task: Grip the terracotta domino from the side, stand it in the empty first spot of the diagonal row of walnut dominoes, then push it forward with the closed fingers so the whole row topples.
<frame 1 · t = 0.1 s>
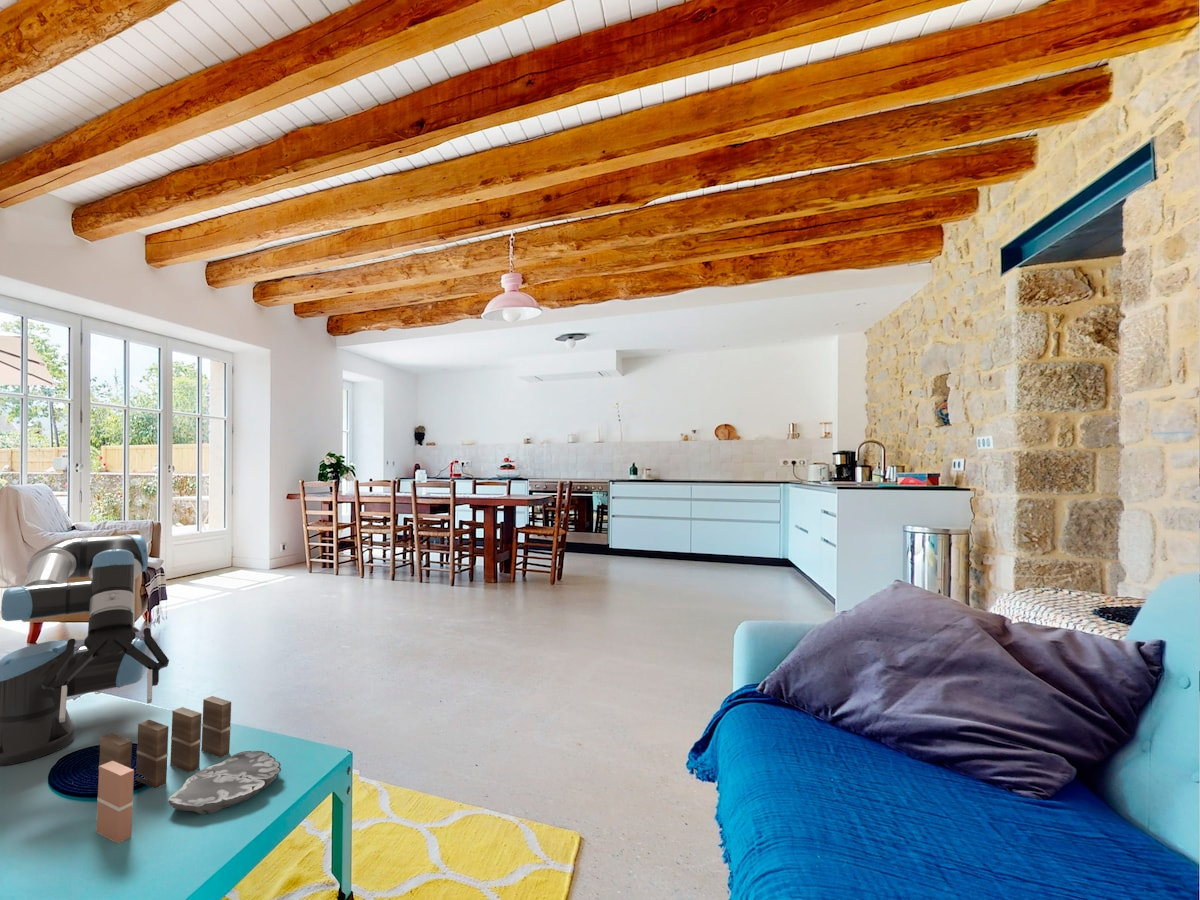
hand: (107, 710, 113), 15 cm above the table, tool tilted 35°, fingers open, 13 cm apart
domino 3: (150, 781, 114), on the table
domino 2: (113, 799, 108), on the table
domino 5: (215, 752, 126), on the table
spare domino: (113, 834, 98), on the table
domino 4: (184, 766, 120), on the table
brain slice: (232, 791, 112), on the table
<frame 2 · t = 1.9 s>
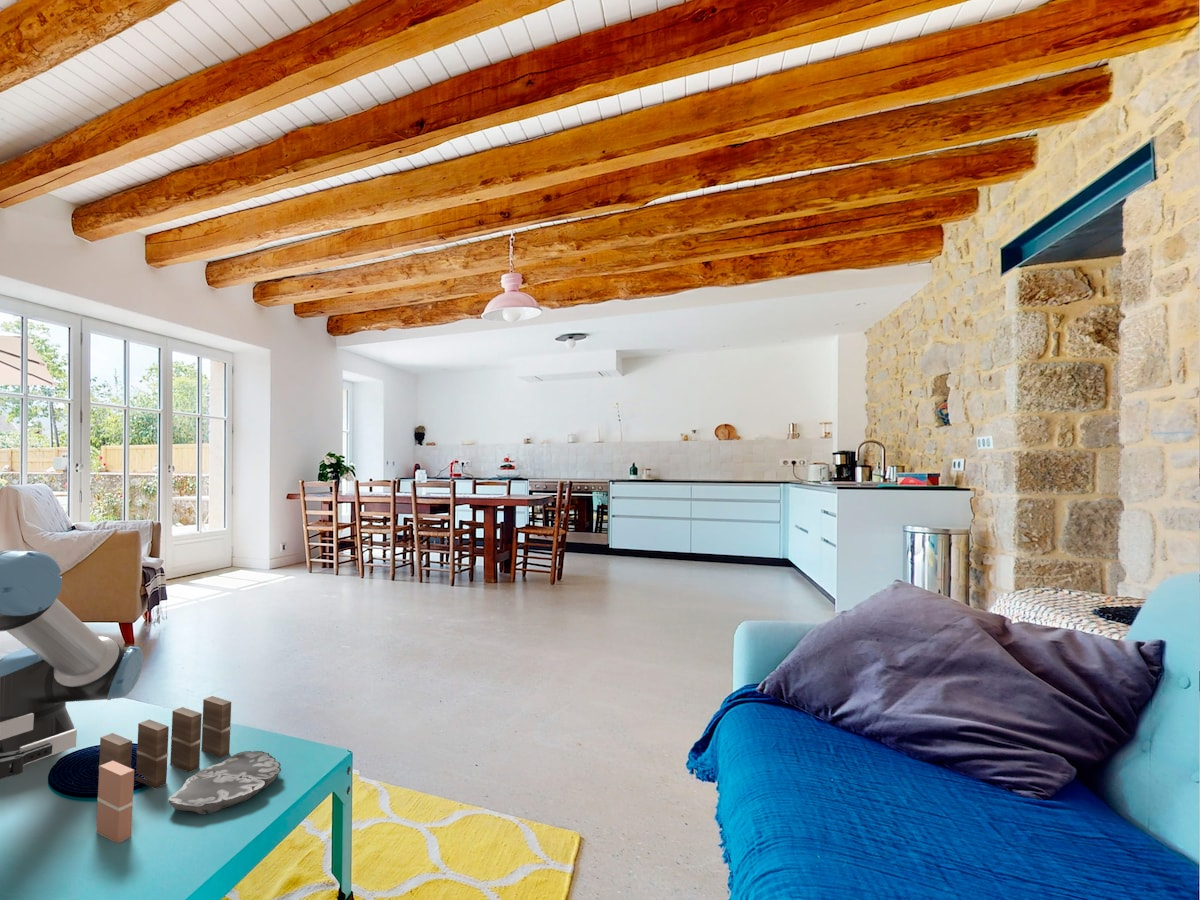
hand: (53, 729, 91), 23 cm above the table, tool horizontal, fingers open, 13 cm apart
nothing on the table moved.
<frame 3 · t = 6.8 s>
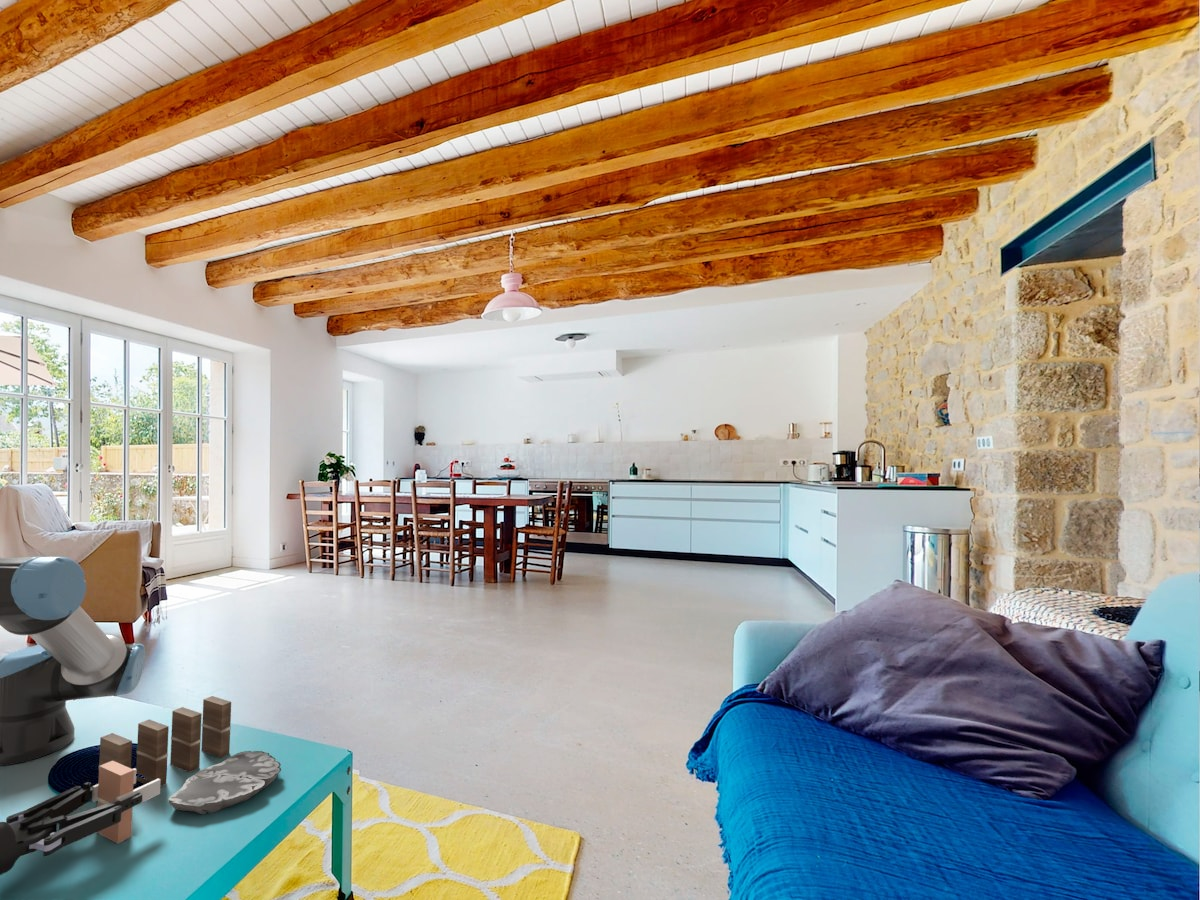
hand: (146, 780, 103), 7 cm above the table, tool horizontal, fingers closed on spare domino, 7 cm apart
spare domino: (113, 834, 98), on the table, touching gripper
everything else where it was.
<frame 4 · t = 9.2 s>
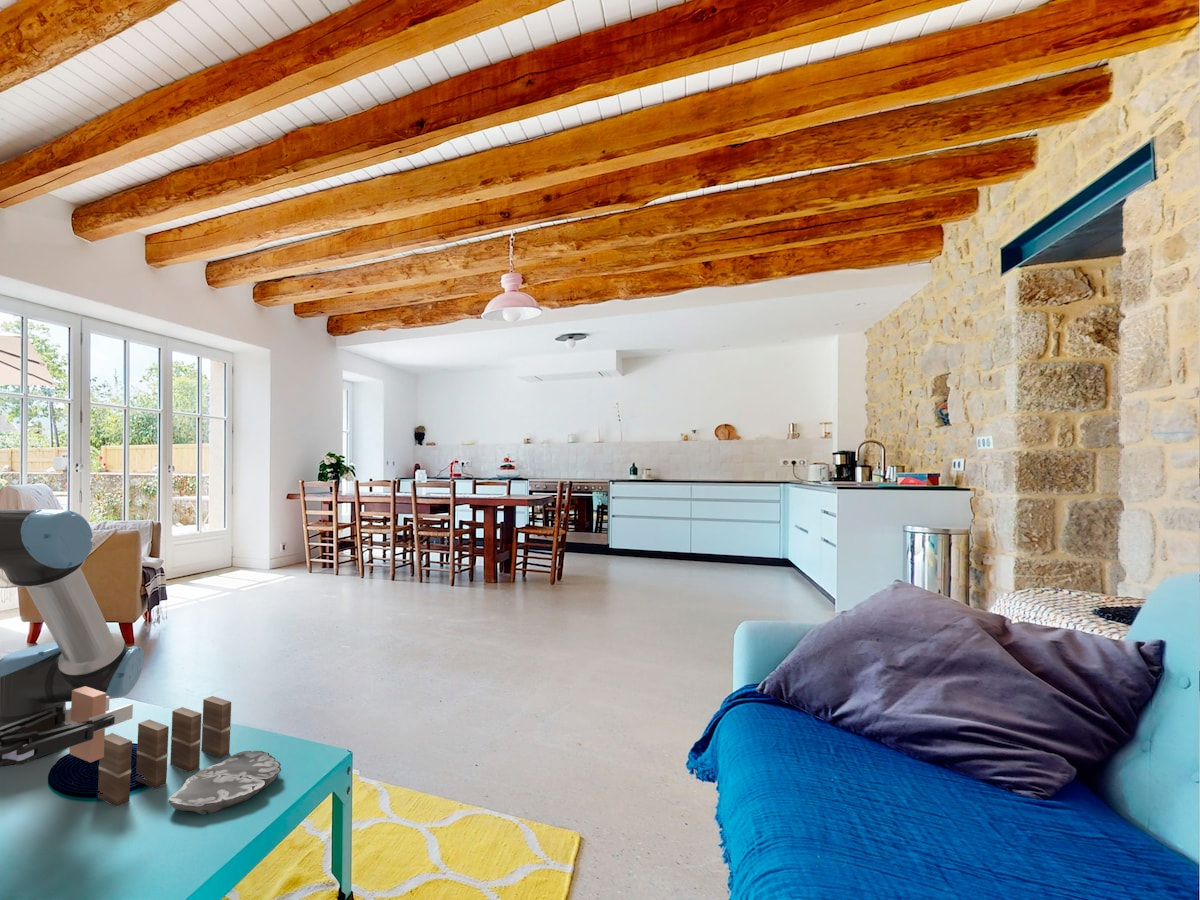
hand: (119, 706, 106), 20 cm above the table, tool horizontal, fingers closed on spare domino, 7 cm apart
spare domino: (86, 755, 101), point 13 cm above the table, touching gripper
everything else where it was.
when the fingers open (8 cm above the table, at t = 12.1 s): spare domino stays where it is, on the table.
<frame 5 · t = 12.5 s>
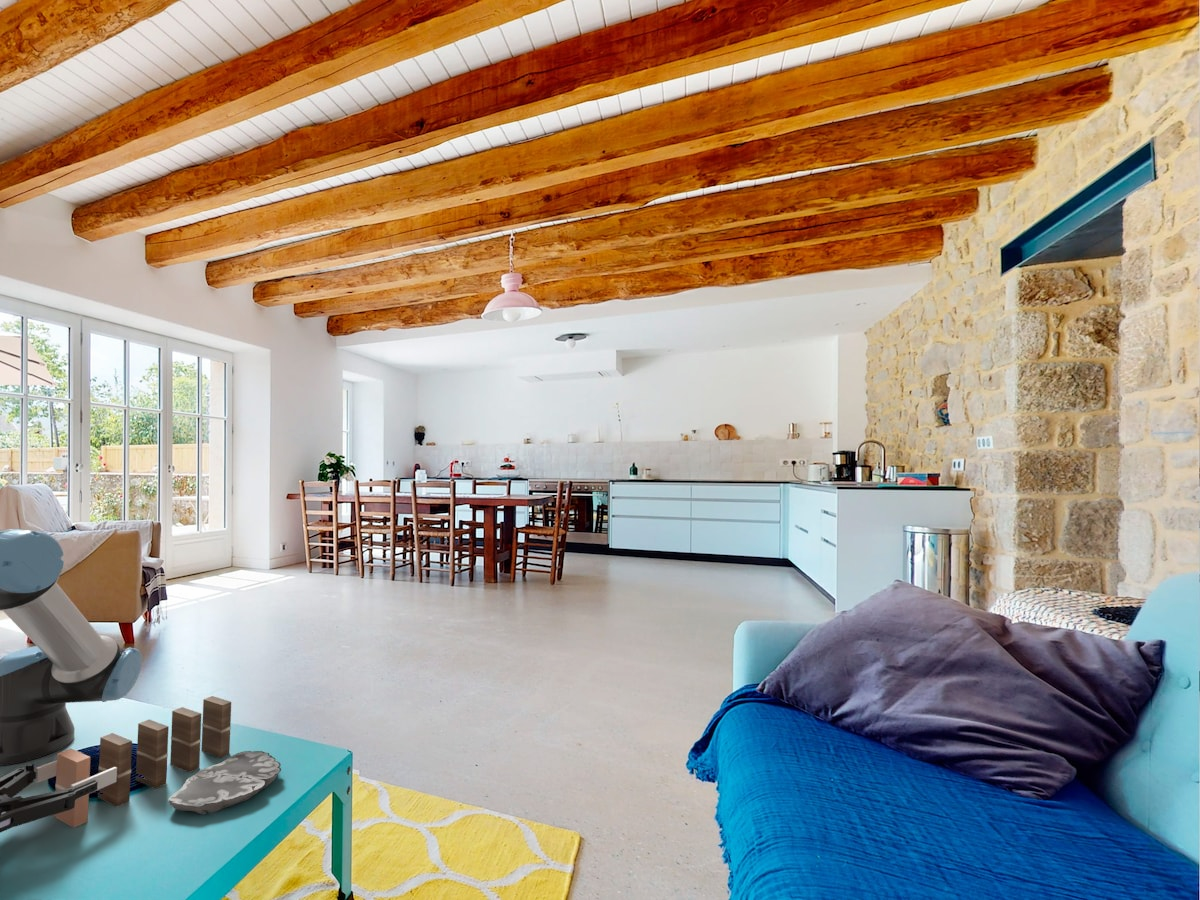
hand: (97, 766, 106), 8 cm above the table, tool horizontal, fingers open, 12 cm apart
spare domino: (71, 819, 102), on the table
everything else where it was.
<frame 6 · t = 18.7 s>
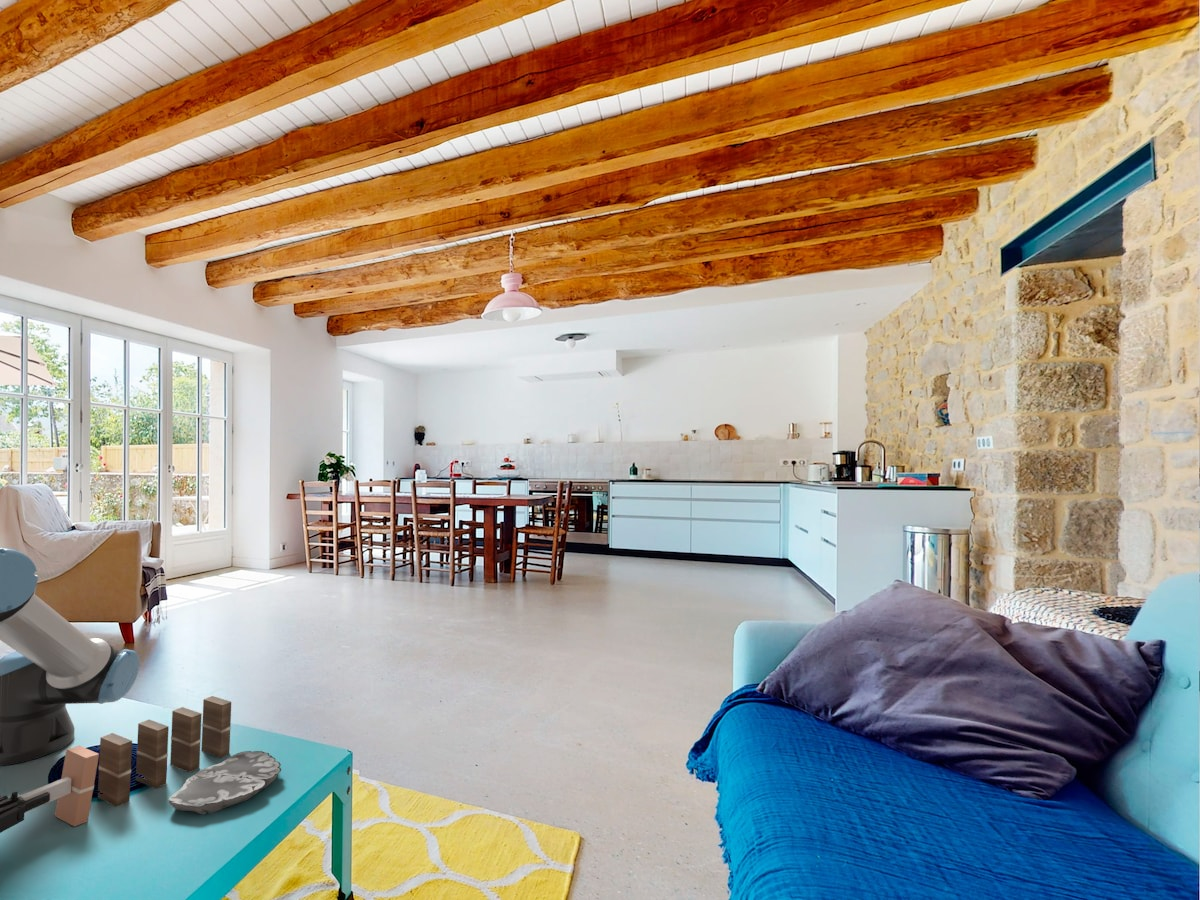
hand: (68, 784, 102), 7 cm above the table, tool horizontal, fingers closed
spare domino: (71, 818, 102), on the table, tilted 6°
everything else where it was.
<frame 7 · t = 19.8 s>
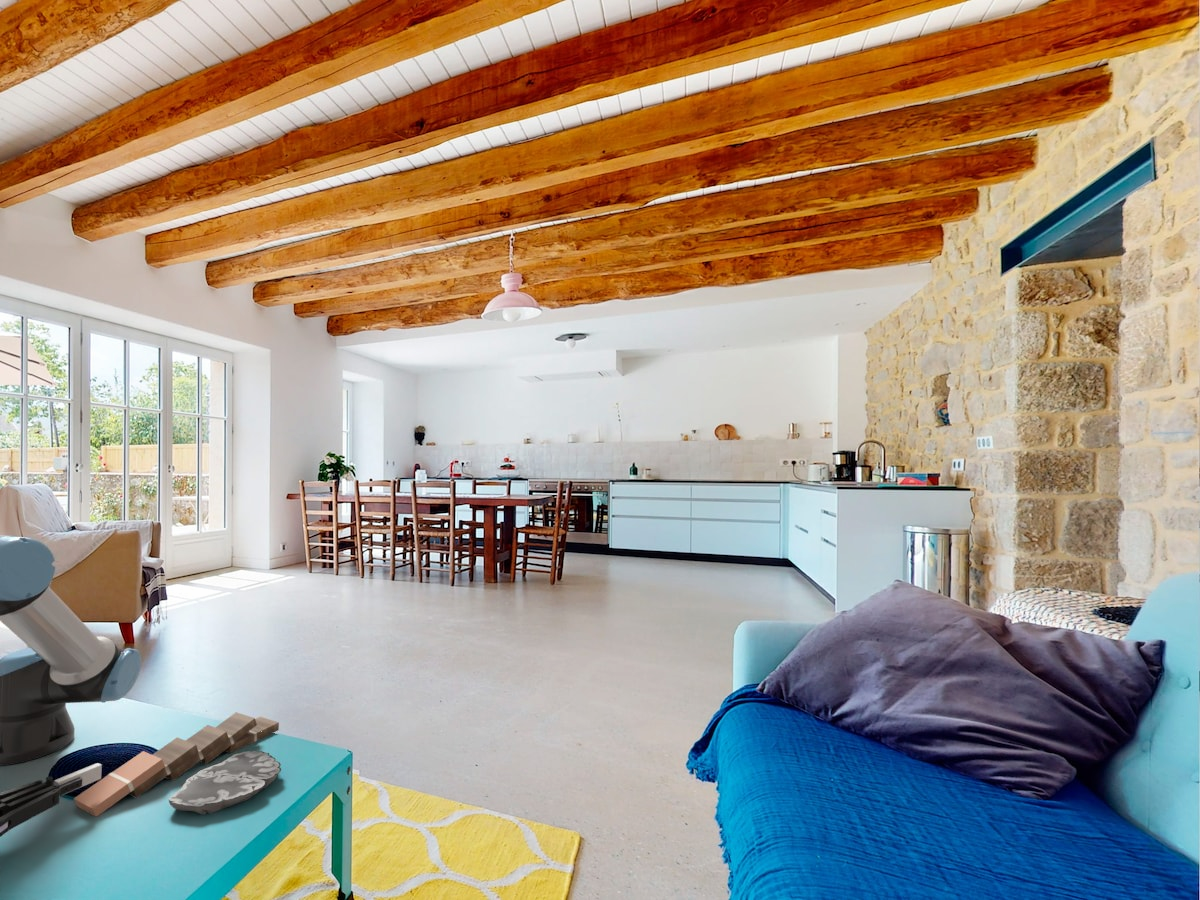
hand: (99, 770, 106), 7 cm above the table, tool horizontal, fingers closed
domino 3: (161, 773, 116), point 1 cm above the table, tilted 72°, touching domino 2, domino 4
domino 2: (125, 789, 110), point 1 cm above the table, tilted 72°, touching domino 3, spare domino
domino 5: (220, 746, 127), point 1 cm above the table, tilted 89°, touching domino 4
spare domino: (84, 807, 104), point 1 cm above the table, tilted 72°, touching domino 2
domino 4: (195, 756, 122), point 1 cm above the table, tilted 72°, touching domino 3, domino 5
everything else where it was.
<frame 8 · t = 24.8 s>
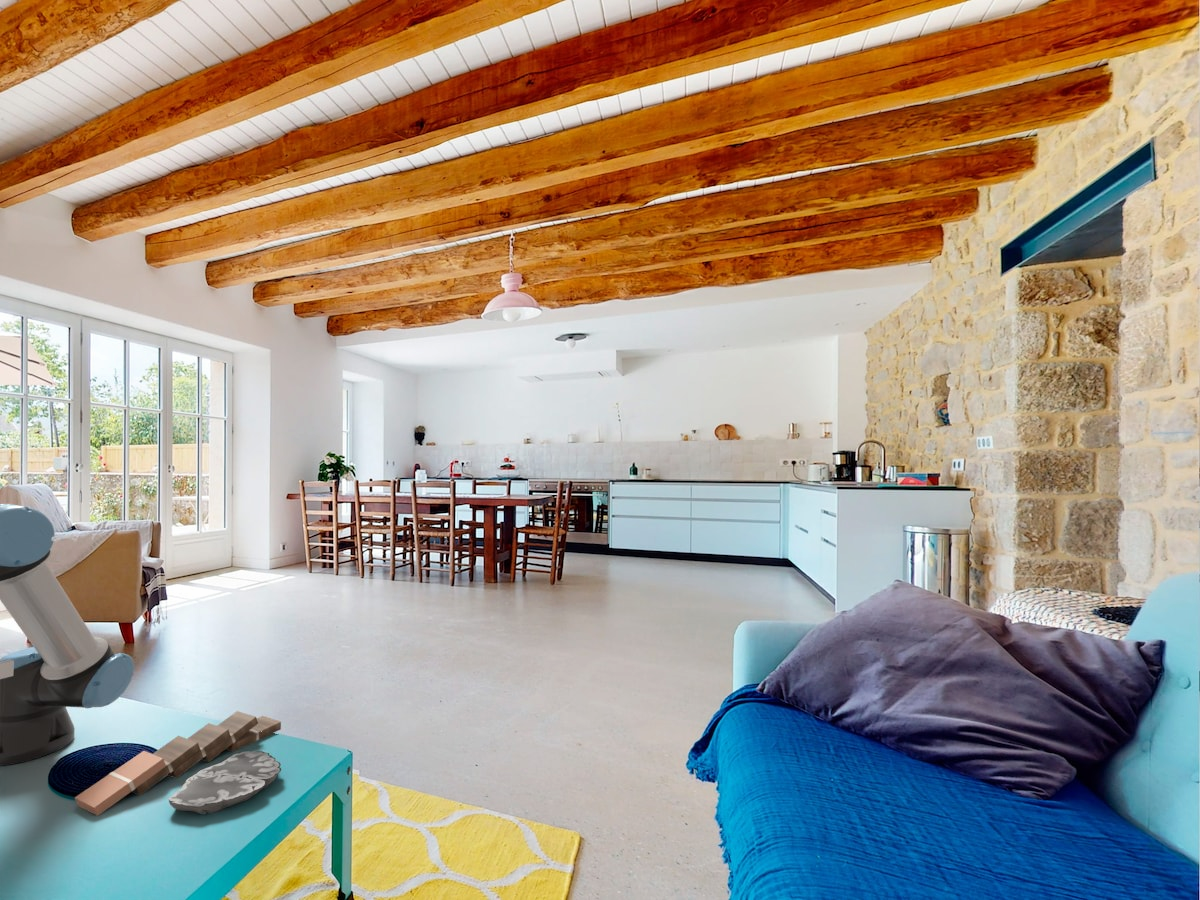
hand: (11, 667, 98), 30 cm above the table, tool horizontal, fingers closed
domino 3: (164, 770, 117), point 1 cm above the table, tilted 72°, touching domino 2
domino 5: (223, 745, 128), point 1 cm above the table, tilted 89°
domino 4: (197, 755, 123), point 1 cm above the table, tilted 72°
at the end: domino 5 tilted 89°; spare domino tilted 72°; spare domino inside the target area (2.5 cm from its centre), point 0.9 cm above the table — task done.
